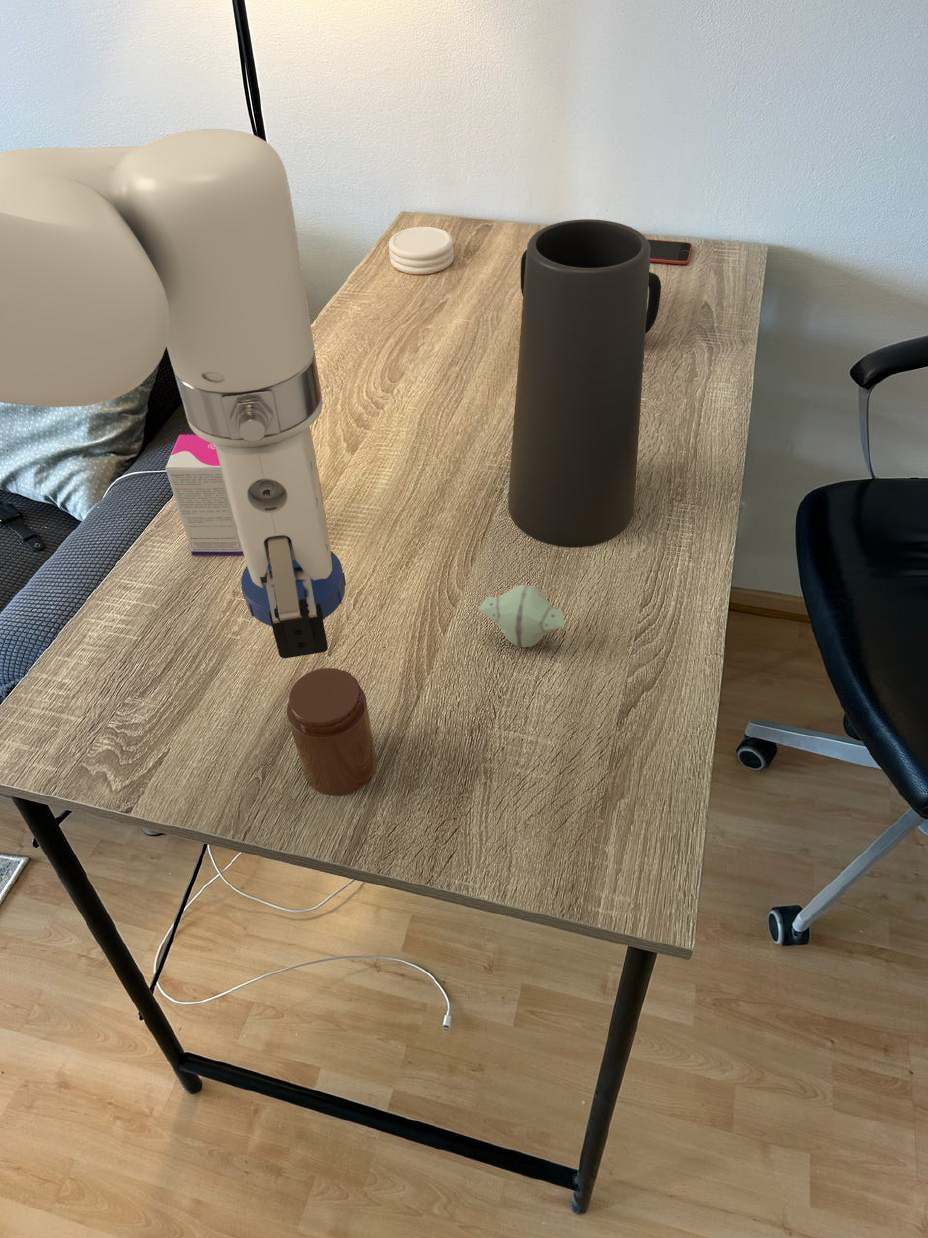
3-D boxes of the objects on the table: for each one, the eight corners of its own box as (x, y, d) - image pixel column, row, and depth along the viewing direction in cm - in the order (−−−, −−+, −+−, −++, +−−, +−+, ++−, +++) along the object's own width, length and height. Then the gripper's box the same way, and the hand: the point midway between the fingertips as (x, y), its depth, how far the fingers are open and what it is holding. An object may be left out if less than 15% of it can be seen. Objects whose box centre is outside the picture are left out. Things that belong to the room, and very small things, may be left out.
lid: (292, 547, 64) (288, 529, 63) (365, 583, 61) (362, 564, 60) (225, 603, 60) (219, 584, 59) (299, 643, 57) (295, 625, 56)
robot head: (476, 650, 84) (474, 599, 79) (488, 619, 87) (487, 568, 82) (560, 666, 82) (563, 616, 77) (569, 634, 85) (573, 583, 80)
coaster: (463, 252, 142) (463, 229, 139) (438, 280, 136) (437, 257, 133) (406, 243, 145) (404, 221, 142) (379, 270, 138) (377, 247, 136)
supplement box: (246, 555, 94) (221, 467, 86) (190, 556, 94) (160, 468, 86) (256, 520, 98) (233, 432, 90) (202, 520, 98) (175, 433, 90)
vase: (488, 527, 96) (484, 264, 75) (534, 456, 104) (542, 201, 83) (611, 560, 92) (642, 291, 71) (648, 483, 100) (687, 222, 79)
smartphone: (688, 262, 135) (596, 254, 138) (688, 265, 136) (596, 257, 139) (693, 242, 140) (603, 234, 143) (692, 245, 140) (603, 238, 143)
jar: (345, 808, 73) (329, 739, 66) (288, 773, 75) (266, 704, 68) (391, 754, 76) (380, 684, 69) (335, 723, 79) (318, 652, 72)
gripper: (334, 470, 44) (369, 700, 57) (306, 305, 56) (341, 526, 68) (177, 491, 43) (249, 720, 56) (183, 319, 55) (241, 540, 68)
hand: (299, 611), depth 62 cm, fingers closed on lid, 6 cm apart
